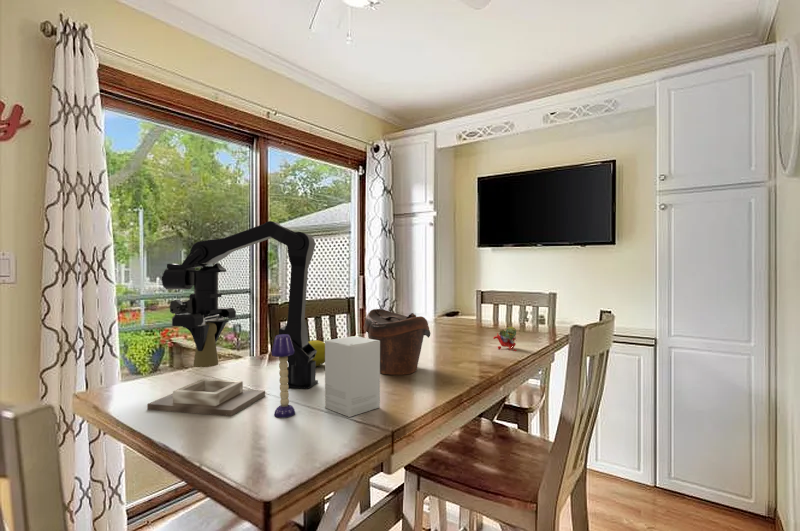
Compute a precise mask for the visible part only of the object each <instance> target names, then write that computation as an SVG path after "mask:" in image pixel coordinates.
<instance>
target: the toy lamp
mask: <svg viewBox="0 0 800 531" xmlns="http://www.w3.org/2000/svg"><path fill="white" fill-rule="evenodd" d="M271 348H272V349H271V352H270V353H271V356H272V357H276V358H278V361H279V364H278V368H279V371H278V372H279V383H280V385H279V390H280V393H279V397H280V401H279V403H280V405H279V406H277V407H276V409H275V410H274V417H276V418H280V419H281V418H283V419H284V418H290V417H292V416H294V415H295V414H296V409H295V407H294V406H293V405H291V404H290V400H289V396H290V393H289V386H288V377H287V376H288V370H287V368H288V361H287V360H288V356H290V355H293V354H294V348H293V345H292V341H291V338H290V336H289V335H288V334H281V335H279V334H277V335H275V337H274V340H273V345H272V347H271Z"/></svg>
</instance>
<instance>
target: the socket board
mask: <svg viewBox="0 0 800 531" xmlns="http://www.w3.org/2000/svg"><path fill="white" fill-rule="evenodd" d="M265 396H266V390H261V389H260V390H259V389H244V381H243V380H232V379H231V380H230V379H229V380H228V379H214V378H202V379H199V380H197V381H194V382H192V383H190V384H187V385H185V386H182V387H180V388H178V389H175V390H173V391H172V393H170V394H167V395H166V396H163V397H161V398H159V399H156V400H153V401H151V402H149V403H147V405H146V406H147V410H151V411H152V410H153V411H163V412H174V413H176V412H177V413H186V414H187V413H188V414H189V413H190V414H200V415H203V414H204V415H213V416H226V417H232V416H234V415H236V414H237V413H239V412H240V411H242V410H244V409H246V408H247V407H249V406H250V405H252V404H253V403H255V402H257V401H259V400H261V399H262V398H263V397H265Z"/></svg>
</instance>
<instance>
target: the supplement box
mask: <svg viewBox="0 0 800 531" xmlns="http://www.w3.org/2000/svg"><path fill="white" fill-rule="evenodd" d="M324 343H325V363H324V408H325V409H328V410H330V411H333V412H335V413H337V414H341V415H343V416H346V417H349V418H350V417H353V416H358V415H360V414H364V413H366V412H369V411H374V410H375V409H380V407H381V380H380V379H381V373H380V341H379V340H373V339H369V338H367V337H361V336H355V335H354V336H346V337H339V338H333V339H326V340H325V341H324Z"/></svg>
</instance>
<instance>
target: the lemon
mask: <svg viewBox="0 0 800 531" xmlns="http://www.w3.org/2000/svg"><path fill="white" fill-rule="evenodd" d="M308 342H309V343H310V344H311V345H312V346H313V347H314V348H315V349H316V350H317V352H316V355H315V358H313V359H312V360H315V361H316V367H319V366H322V365H323V364H325V341H321V340H317V339H314V340H310V341H309V340H308Z"/></svg>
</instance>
